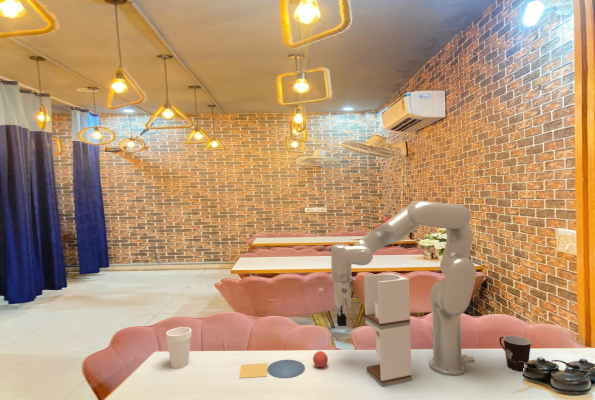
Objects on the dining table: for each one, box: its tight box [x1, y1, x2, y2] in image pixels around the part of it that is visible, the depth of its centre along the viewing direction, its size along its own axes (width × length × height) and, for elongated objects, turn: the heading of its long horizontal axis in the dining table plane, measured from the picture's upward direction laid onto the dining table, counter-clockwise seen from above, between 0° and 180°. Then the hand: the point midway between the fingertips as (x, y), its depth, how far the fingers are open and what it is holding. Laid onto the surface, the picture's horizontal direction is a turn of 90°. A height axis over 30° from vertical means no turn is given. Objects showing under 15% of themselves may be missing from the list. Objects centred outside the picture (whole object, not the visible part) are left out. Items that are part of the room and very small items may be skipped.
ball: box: [312, 350, 329, 368], centre depth 136 cm, size 6×6×6 cm
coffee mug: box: [498, 335, 532, 373], centre depth 133 cm, size 12×9×10 cm
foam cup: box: [165, 326, 193, 369], centre depth 141 cm, size 10×9×13 cm
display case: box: [363, 272, 412, 388], centre depth 127 cm, size 11×11×35 cm
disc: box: [267, 359, 306, 379], centre depth 135 cm, size 14×14×1 cm
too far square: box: [238, 362, 268, 379], centre depth 134 cm, size 10×10×1 cm
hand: (341, 325), depth 137 cm, fingers closed
